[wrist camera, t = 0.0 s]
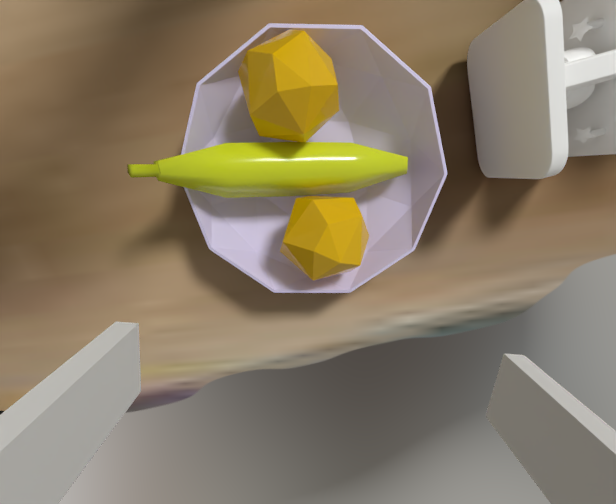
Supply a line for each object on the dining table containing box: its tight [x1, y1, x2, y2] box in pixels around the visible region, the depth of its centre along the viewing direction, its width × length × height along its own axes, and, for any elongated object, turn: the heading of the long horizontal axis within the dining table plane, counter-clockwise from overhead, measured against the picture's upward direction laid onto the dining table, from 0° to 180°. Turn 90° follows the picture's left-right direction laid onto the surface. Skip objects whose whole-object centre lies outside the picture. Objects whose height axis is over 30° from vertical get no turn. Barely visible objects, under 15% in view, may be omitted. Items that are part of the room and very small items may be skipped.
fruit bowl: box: [127, 23, 448, 293], centre depth 31 cm, size 28×27×11 cm
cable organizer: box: [467, 0, 616, 179], centre depth 29 cm, size 15×11×12 cm
